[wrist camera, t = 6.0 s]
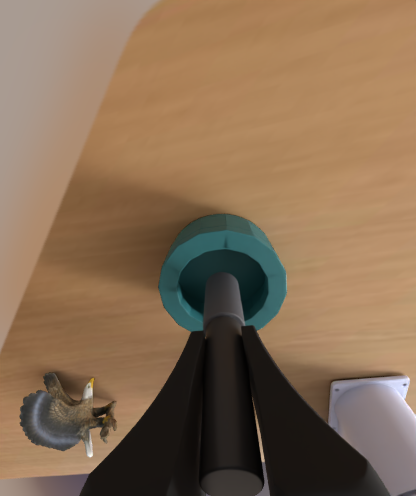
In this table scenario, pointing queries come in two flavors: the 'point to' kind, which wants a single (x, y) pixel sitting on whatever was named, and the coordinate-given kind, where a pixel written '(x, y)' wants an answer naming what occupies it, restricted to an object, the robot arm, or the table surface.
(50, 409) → the eagle figurine
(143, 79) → the table surface
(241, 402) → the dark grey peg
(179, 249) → the teal hollow cylinder
